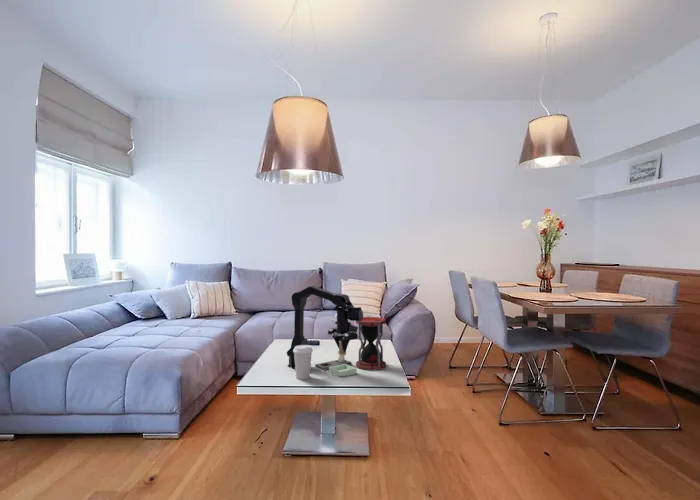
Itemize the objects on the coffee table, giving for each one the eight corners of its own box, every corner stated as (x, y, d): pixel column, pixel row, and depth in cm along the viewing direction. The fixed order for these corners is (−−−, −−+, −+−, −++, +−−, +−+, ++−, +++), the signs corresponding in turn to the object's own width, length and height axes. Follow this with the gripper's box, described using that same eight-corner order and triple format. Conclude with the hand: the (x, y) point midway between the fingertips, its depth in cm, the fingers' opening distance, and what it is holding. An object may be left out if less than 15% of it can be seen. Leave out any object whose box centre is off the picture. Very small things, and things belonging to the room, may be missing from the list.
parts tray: (340, 377, 201) (340, 371, 201) (328, 372, 209) (328, 367, 209) (356, 373, 207) (356, 368, 207) (345, 368, 215) (345, 363, 215)
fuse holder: (323, 370, 212) (323, 367, 212) (315, 366, 218) (315, 364, 218) (351, 364, 222) (351, 362, 222) (343, 361, 229) (343, 358, 229)
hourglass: (367, 372, 209) (366, 323, 209) (350, 364, 223) (350, 318, 222) (392, 367, 217) (392, 320, 217) (374, 360, 231) (374, 315, 231)
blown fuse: (341, 355, 206) (341, 342, 206) (337, 354, 209) (337, 340, 209) (347, 354, 208) (347, 341, 208) (343, 353, 211) (343, 339, 211)
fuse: (340, 365, 221) (340, 352, 221) (336, 364, 224) (336, 351, 224) (346, 364, 223) (345, 351, 223) (342, 362, 226) (342, 350, 226)
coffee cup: (296, 381, 194) (296, 350, 194) (290, 376, 203) (290, 345, 203) (315, 379, 198) (315, 348, 198) (309, 373, 207) (309, 343, 207)
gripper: (366, 320, 205) (366, 352, 205) (345, 315, 220) (345, 344, 220) (348, 323, 199) (348, 355, 199) (327, 317, 214) (327, 347, 214)
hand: (342, 350), depth 208 cm, fingers closed on blown fuse, 4 cm apart
